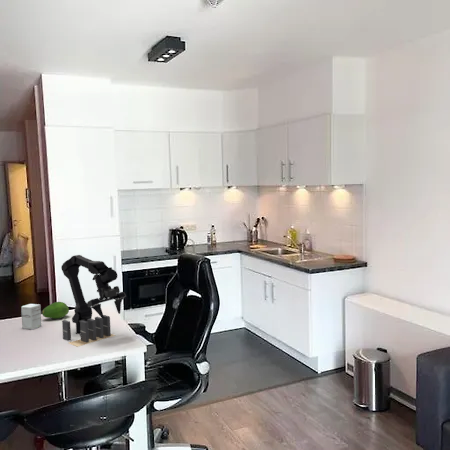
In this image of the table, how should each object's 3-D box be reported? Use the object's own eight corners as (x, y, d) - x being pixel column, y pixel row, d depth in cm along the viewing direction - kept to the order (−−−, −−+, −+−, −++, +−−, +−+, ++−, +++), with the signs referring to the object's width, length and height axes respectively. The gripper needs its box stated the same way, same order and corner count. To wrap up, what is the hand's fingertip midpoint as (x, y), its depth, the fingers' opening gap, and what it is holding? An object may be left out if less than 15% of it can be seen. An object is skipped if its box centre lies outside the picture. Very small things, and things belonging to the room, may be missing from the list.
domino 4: (100, 338, 236) (100, 319, 235) (95, 336, 239) (94, 317, 238) (103, 337, 237) (102, 318, 236) (98, 335, 240) (97, 316, 239)
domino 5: (108, 336, 239) (107, 317, 238) (102, 334, 242) (101, 315, 241) (110, 335, 240) (109, 316, 239) (105, 333, 243) (104, 314, 242)
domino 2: (86, 342, 229) (85, 322, 229) (80, 340, 233) (79, 321, 232) (89, 341, 231) (88, 322, 230) (83, 339, 234) (82, 320, 233)
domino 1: (68, 341, 233) (67, 322, 232) (63, 339, 236) (62, 320, 236) (71, 341, 234) (70, 321, 234) (66, 339, 238) (65, 319, 237)
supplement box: (21, 328, 258) (20, 306, 257) (31, 325, 265) (30, 303, 264) (32, 329, 255) (30, 307, 254) (42, 326, 262) (40, 304, 261)
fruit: (44, 322, 269) (43, 305, 268) (41, 318, 277) (40, 302, 276) (70, 318, 276) (69, 302, 276) (67, 314, 285) (66, 298, 284)
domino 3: (93, 340, 232) (92, 320, 232) (88, 338, 236) (87, 319, 235) (96, 339, 234) (95, 320, 233) (91, 337, 237) (90, 318, 236)
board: (77, 347, 224) (77, 346, 224) (67, 344, 230) (67, 342, 230) (115, 336, 240) (115, 335, 240) (106, 333, 246) (106, 332, 246)
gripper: (92, 286, 221) (101, 317, 218) (126, 278, 234) (135, 308, 231) (83, 291, 229) (91, 322, 226) (116, 283, 242) (124, 312, 239)
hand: (111, 315), depth 230 cm, fingers open, 9 cm apart
